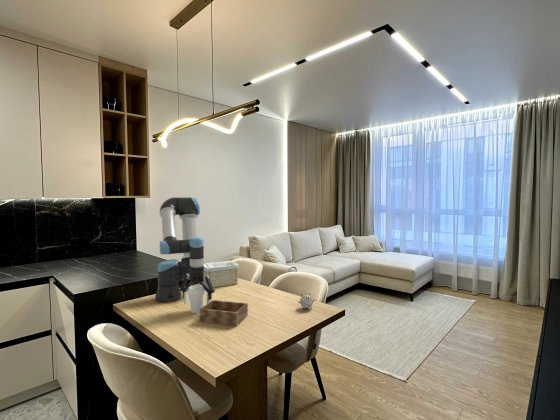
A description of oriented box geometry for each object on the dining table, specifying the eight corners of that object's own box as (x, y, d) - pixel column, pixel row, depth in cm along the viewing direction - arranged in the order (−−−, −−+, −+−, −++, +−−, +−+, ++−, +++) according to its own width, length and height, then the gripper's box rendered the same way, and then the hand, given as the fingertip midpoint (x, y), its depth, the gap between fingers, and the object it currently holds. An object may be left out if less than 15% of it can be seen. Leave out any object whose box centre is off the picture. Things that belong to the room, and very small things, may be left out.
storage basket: (206, 289, 205) (206, 267, 204) (201, 283, 219) (201, 263, 219) (239, 284, 215) (239, 264, 215) (232, 279, 230) (232, 260, 229)
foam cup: (201, 314, 159) (200, 290, 158) (185, 313, 160) (184, 289, 160) (208, 308, 168) (208, 285, 167) (193, 307, 170) (193, 284, 169)
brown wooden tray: (199, 322, 149) (199, 309, 149) (213, 311, 163) (213, 300, 163) (237, 326, 144) (237, 313, 144) (247, 315, 158) (247, 303, 157)
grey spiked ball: (302, 315, 167) (292, 300, 168) (311, 306, 173) (301, 291, 174) (312, 312, 161) (301, 296, 162) (320, 302, 167) (310, 287, 168)
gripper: (172, 266, 163) (173, 305, 163) (214, 268, 156) (214, 309, 157) (180, 263, 170) (181, 300, 171) (220, 265, 164) (221, 304, 164)
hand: (197, 304), depth 164 cm, fingers open, 13 cm apart
